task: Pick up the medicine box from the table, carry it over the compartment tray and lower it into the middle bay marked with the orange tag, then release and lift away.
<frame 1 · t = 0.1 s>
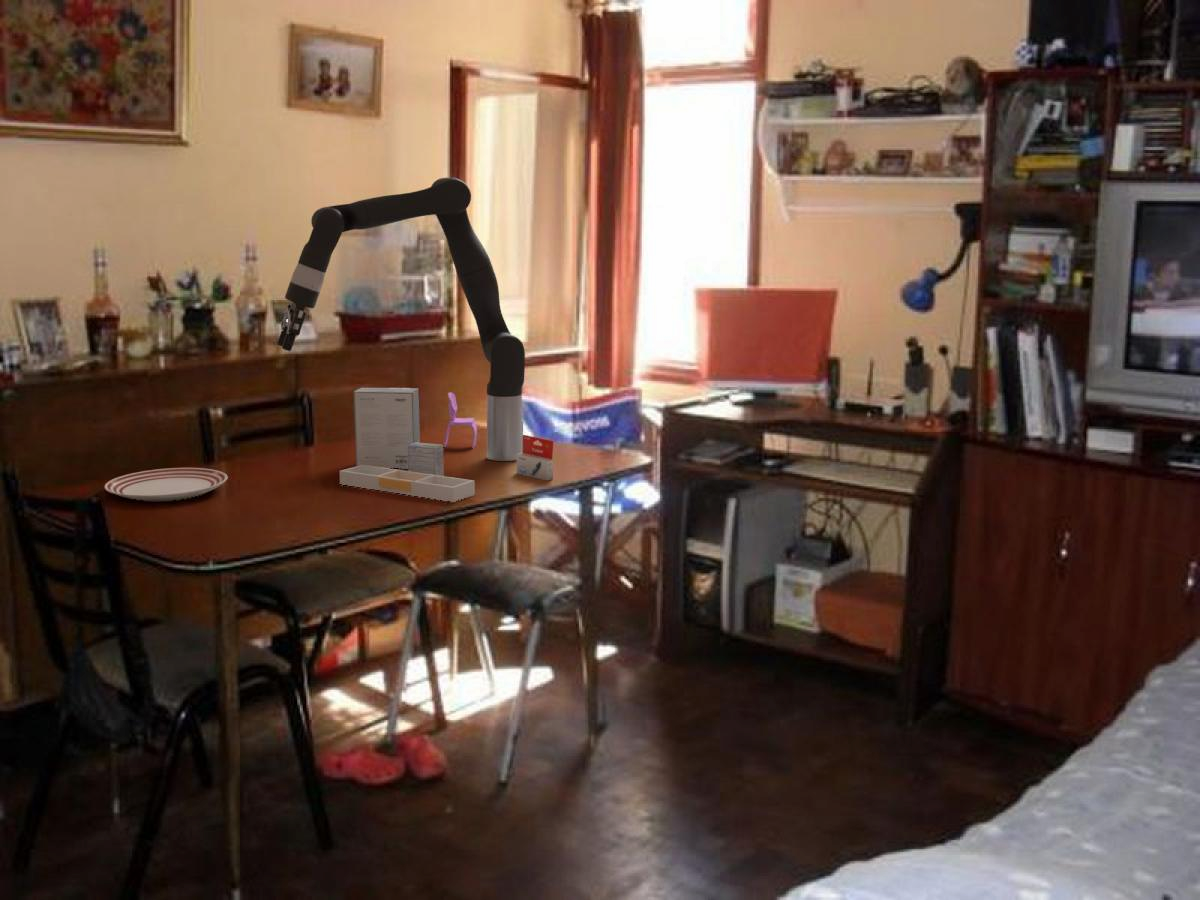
hand: (283, 347, 329), 31 cm above the table, tool tilted 20°, fingers open, 8 cm apart
ink cartridge box: (534, 477, 335), on the table
toy chair: (460, 447, 370), on the table
compartment tray: (406, 490, 318), on the table
dinner plate: (167, 494, 313), on the table
medicine box: (426, 480, 330), on the table
hard drive box: (388, 466, 344), on the table
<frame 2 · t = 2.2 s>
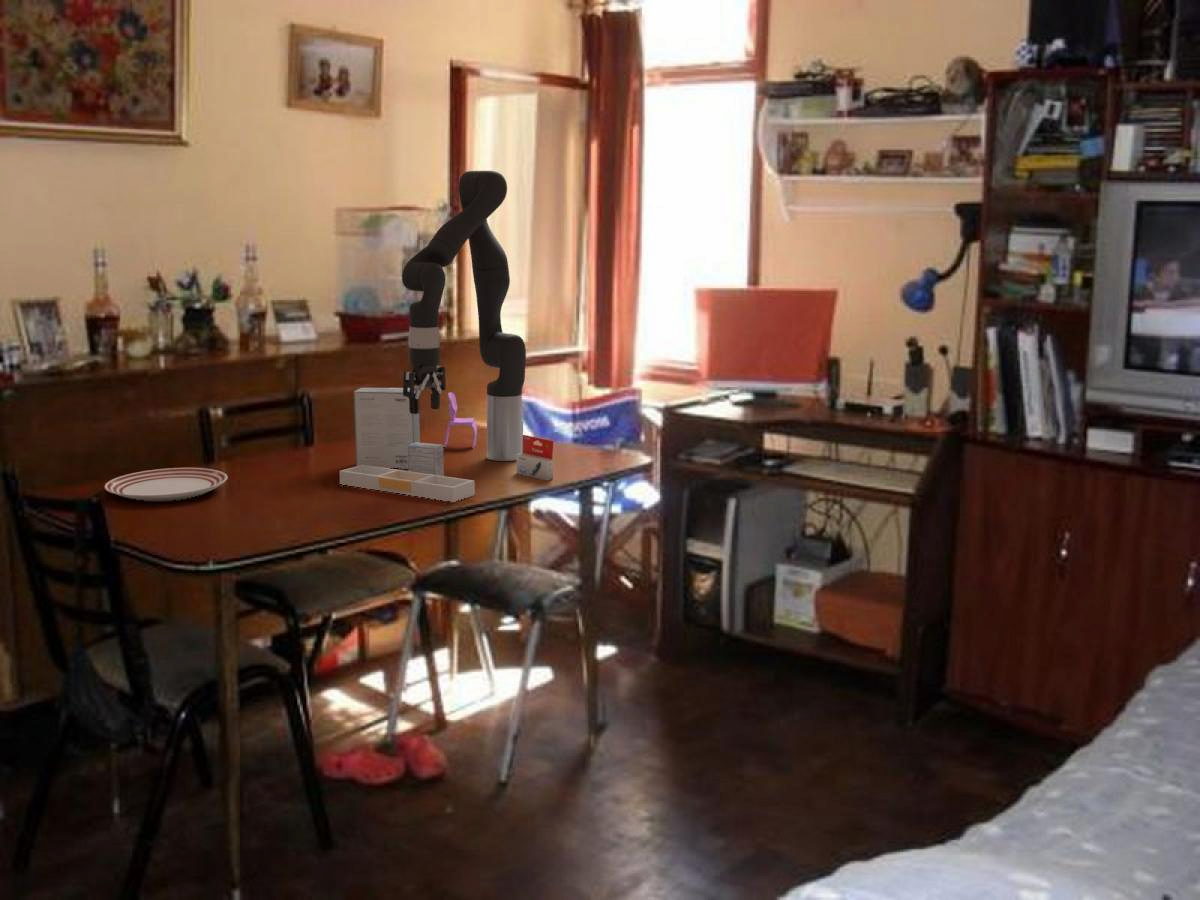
hand: (424, 411, 327), 17 cm above the table, tool pointing down, fingers open, 8 cm apart
nothing on the table moved.
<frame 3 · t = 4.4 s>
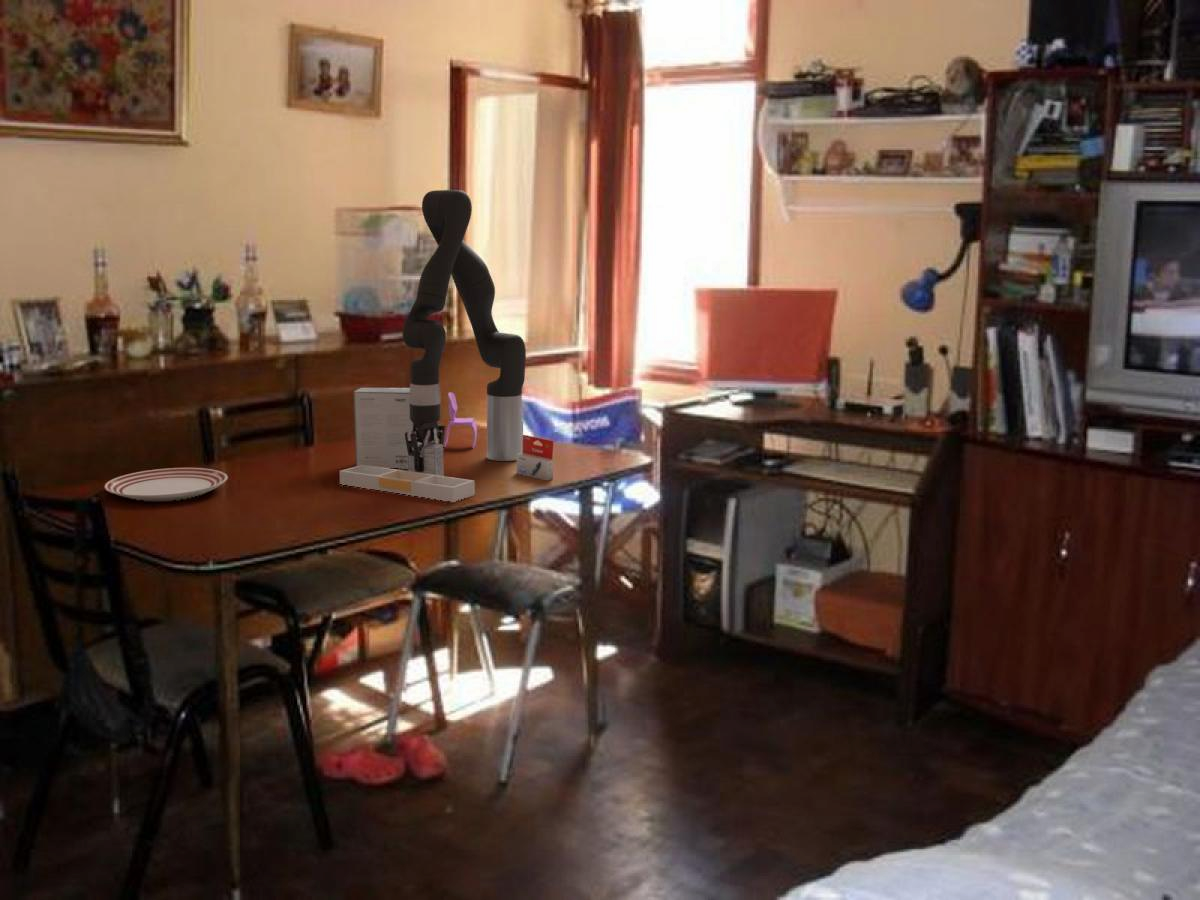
hand: (425, 469, 330), 2 cm above the table, tool pointing down, fingers closed on medicine box, 5 cm apart
medicine box: (425, 479, 330), on the table, touching gripper
everything else where it was.
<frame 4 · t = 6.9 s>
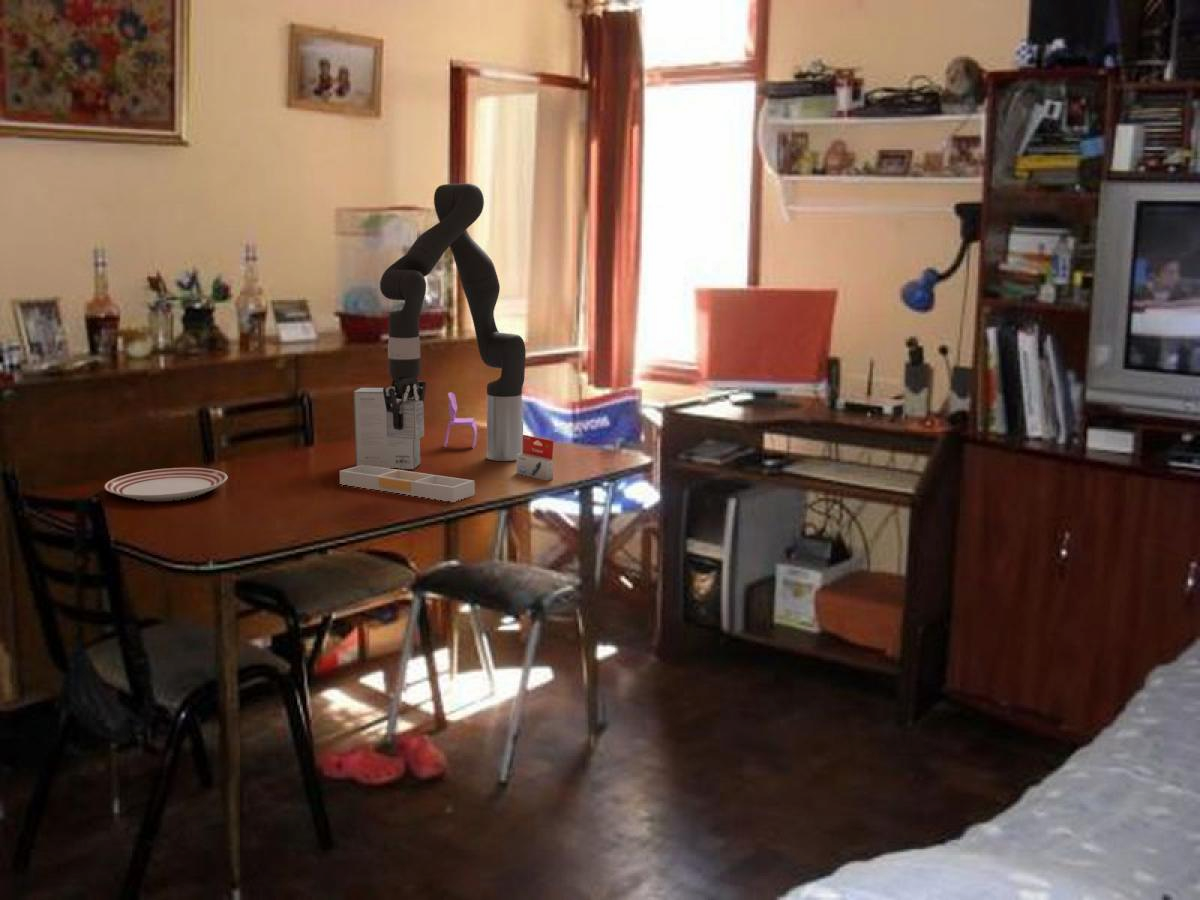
hand: (405, 427, 315), 15 cm above the table, tool pointing down, fingers closed on medicine box, 5 cm apart
medicine box: (405, 438, 316), point 13 cm above the table, touching gripper
everything else where it was.
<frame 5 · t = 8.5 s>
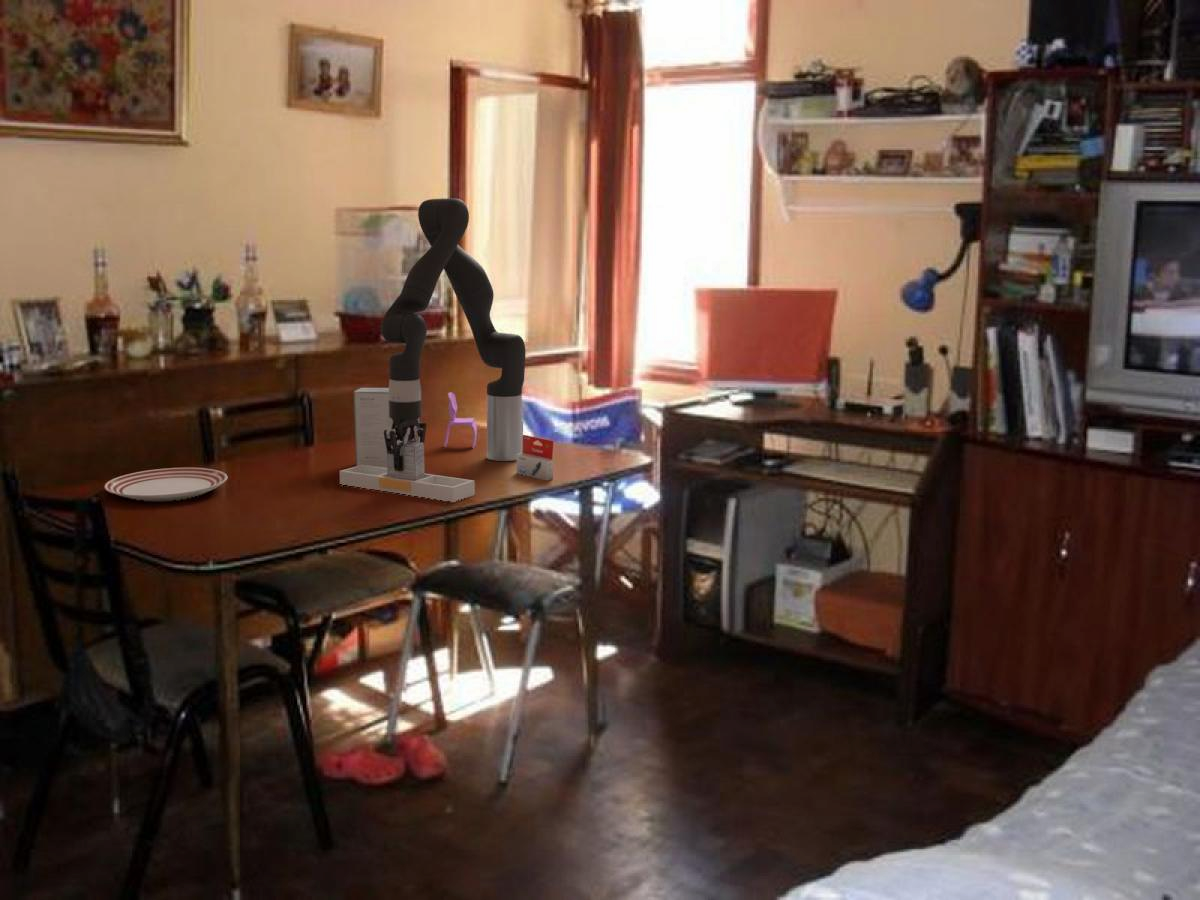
hand: (406, 468, 317), 5 cm above the table, tool pointing down, fingers closed on medicine box, 5 cm apart
medicine box: (405, 479, 318), point 3 cm above the table, touching gripper
everything else where it was.
when the fingers open (5 cm above the table, at t = 9.5 s): medicine box stays where it is, resting on compartment tray.
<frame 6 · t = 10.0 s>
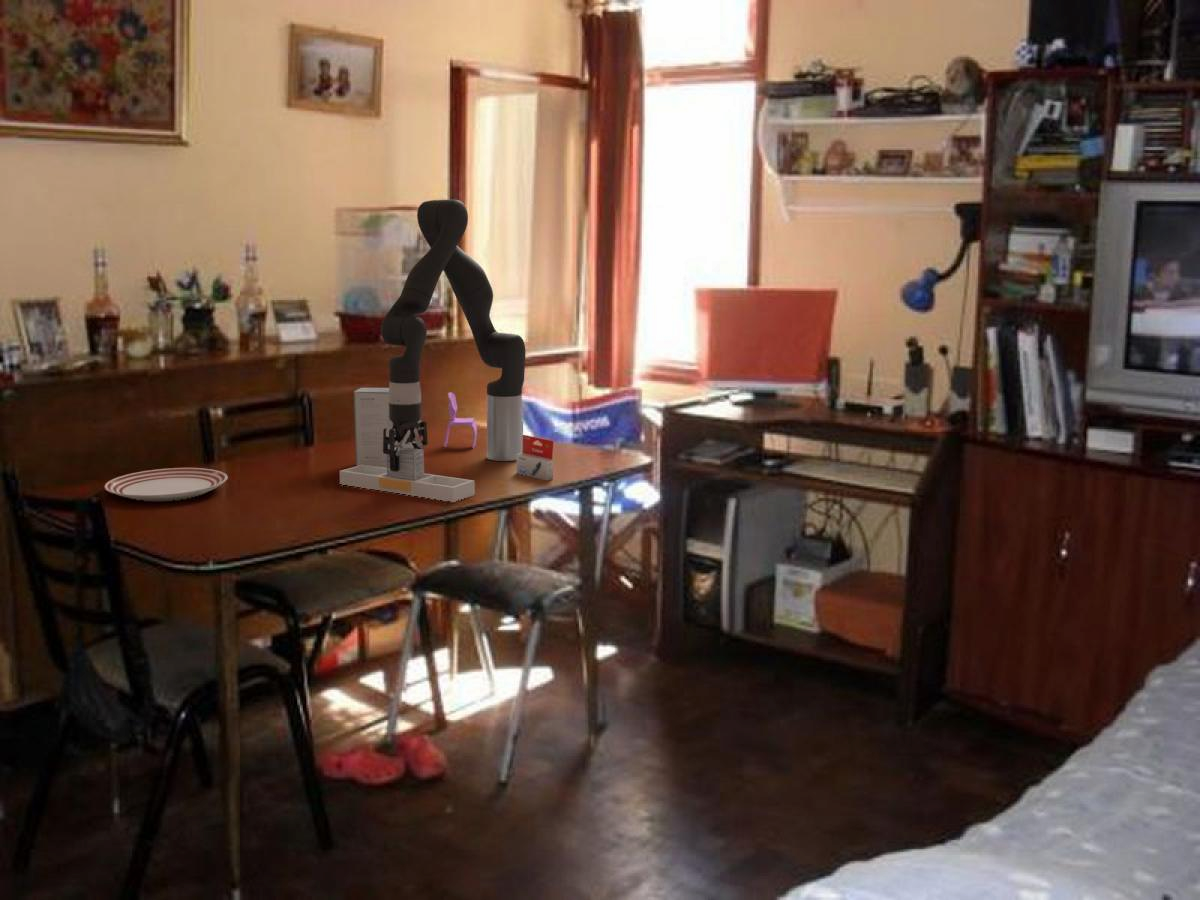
hand: (406, 467, 317), 5 cm above the table, tool pointing down, fingers open, 8 cm apart
medicine box: (405, 486, 318), point 1 cm above the table, touching compartment tray
everything else where it was.
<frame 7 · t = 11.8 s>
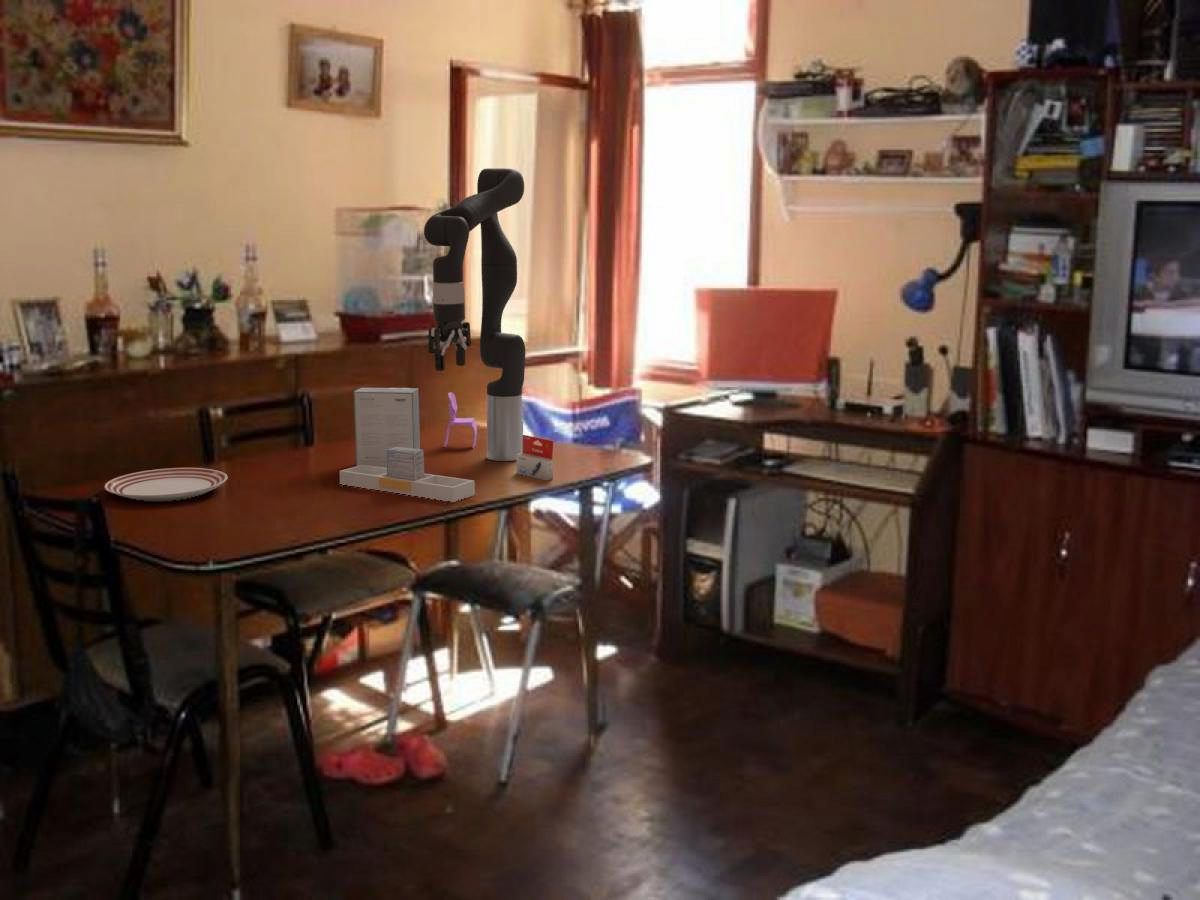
hand: (450, 368, 323), 28 cm above the table, tool pointing down, fingers open, 8 cm apart
nothing on the table moved.
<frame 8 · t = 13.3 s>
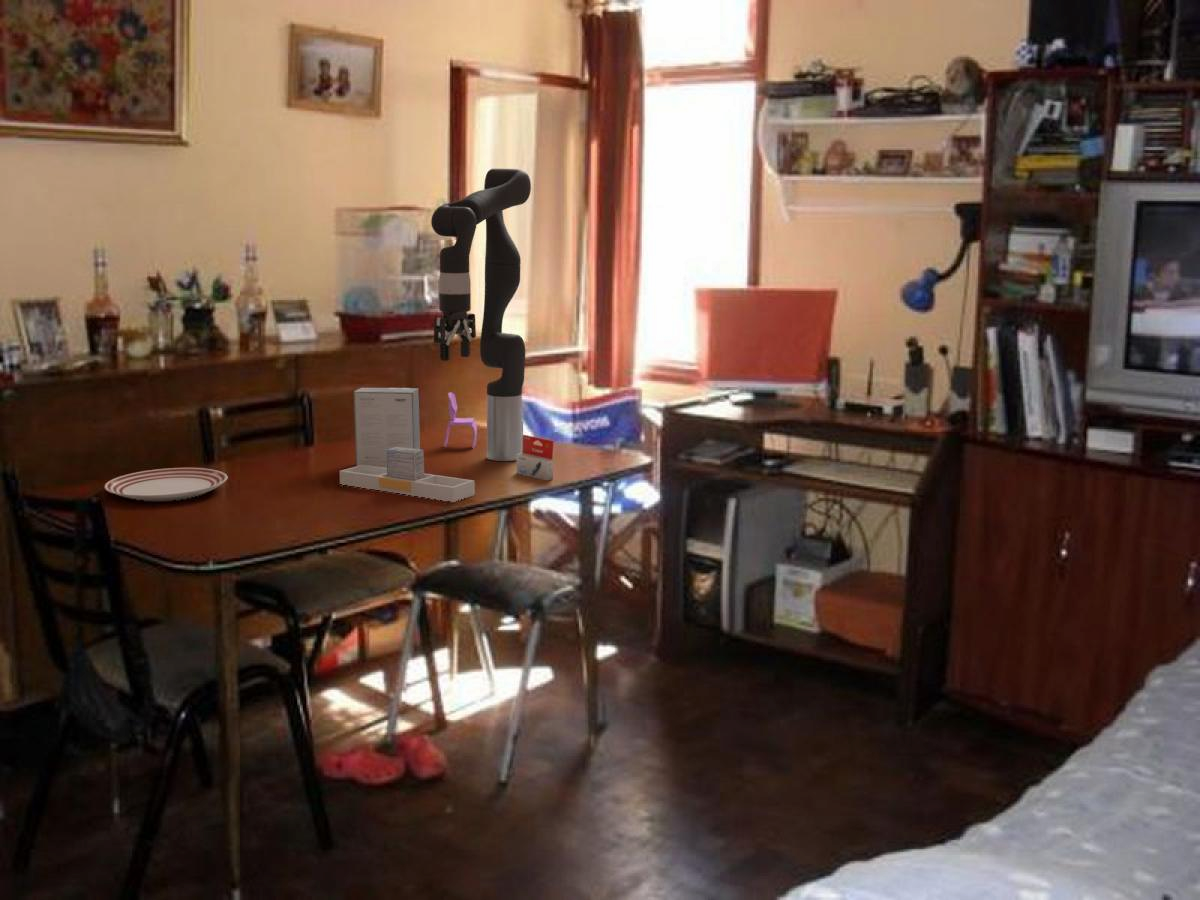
hand: (455, 358, 323), 30 cm above the table, tool pointing down, fingers open, 8 cm apart
nothing on the table moved.
at the end: medicine box inside the target area on the compartment tray (0.2 cm from its centre), point 1.0 cm above the compartment tray's base; medicine box tilted 0°; the gripper is holding nothing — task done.
